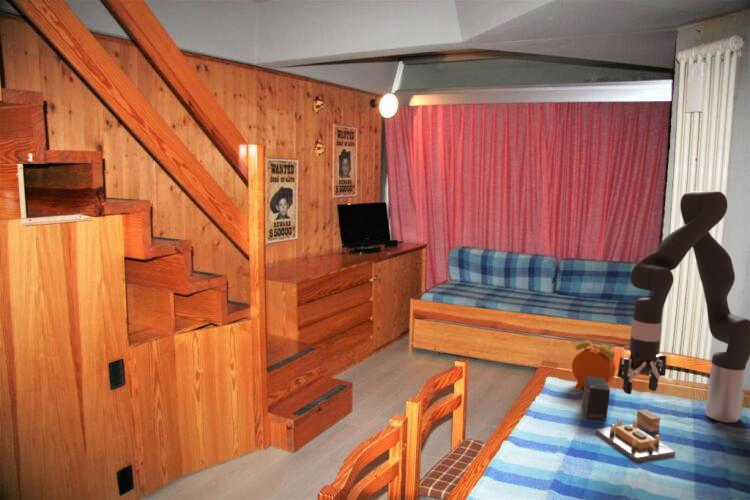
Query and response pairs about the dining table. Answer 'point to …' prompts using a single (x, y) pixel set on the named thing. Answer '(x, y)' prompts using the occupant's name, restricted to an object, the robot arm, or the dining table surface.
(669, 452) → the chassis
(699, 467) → the dining table surface
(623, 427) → the board
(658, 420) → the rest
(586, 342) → the alarm clock
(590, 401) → the small box
